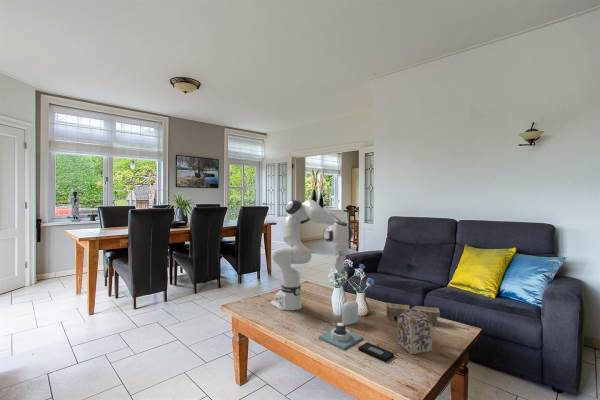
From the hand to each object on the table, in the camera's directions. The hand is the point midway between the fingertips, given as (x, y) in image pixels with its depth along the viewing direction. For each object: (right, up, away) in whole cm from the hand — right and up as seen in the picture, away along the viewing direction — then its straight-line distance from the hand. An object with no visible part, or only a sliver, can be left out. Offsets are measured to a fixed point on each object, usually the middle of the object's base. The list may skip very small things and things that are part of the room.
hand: (340, 273), depth 173 cm
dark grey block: (-3, -27, -20) cm, 34 cm away
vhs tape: (+12, -29, -34) cm, 47 cm away
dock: (-3, -28, -21) cm, 35 cm away
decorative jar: (+32, -29, -29) cm, 52 cm away
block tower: (+43, -29, +3) cm, 52 cm away
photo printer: (+5, -28, -2) cm, 29 cm away
